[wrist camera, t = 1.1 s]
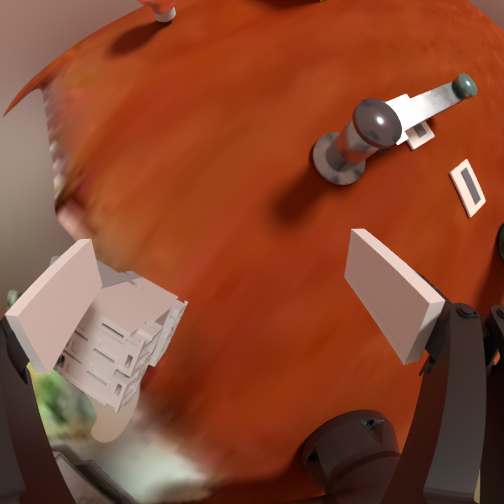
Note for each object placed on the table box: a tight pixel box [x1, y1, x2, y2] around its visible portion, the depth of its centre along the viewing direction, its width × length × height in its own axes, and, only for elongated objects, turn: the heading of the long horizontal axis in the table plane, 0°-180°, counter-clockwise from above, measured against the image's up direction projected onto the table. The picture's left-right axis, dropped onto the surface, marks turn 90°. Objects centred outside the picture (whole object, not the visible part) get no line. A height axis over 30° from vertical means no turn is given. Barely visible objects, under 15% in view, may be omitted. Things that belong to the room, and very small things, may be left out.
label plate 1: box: [386, 94, 435, 150], centre depth 32 cm, size 8×6×1 cm
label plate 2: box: [449, 159, 486, 218], centre depth 33 cm, size 8×6×1 cm
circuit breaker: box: [49, 254, 188, 413], centre depth 24 cm, size 8×14×15 cm, turn 63°
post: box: [312, 98, 402, 186], centre depth 26 cm, size 7×7×12 cm
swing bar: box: [378, 73, 478, 155], centre depth 25 cm, size 22×5×6 cm, turn 122°
